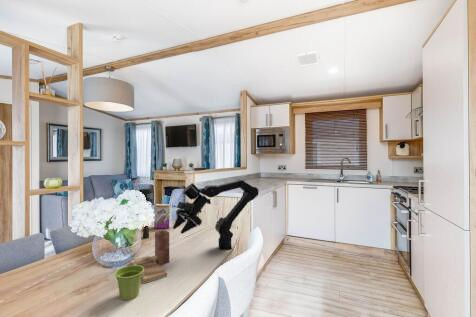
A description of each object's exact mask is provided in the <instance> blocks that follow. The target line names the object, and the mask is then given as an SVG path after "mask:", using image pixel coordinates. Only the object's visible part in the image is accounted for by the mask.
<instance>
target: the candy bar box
mask: <svg viewBox="0 0 476 317" xmlns="http://www.w3.org/2000/svg"><path fill="white" fill-rule="evenodd" d="M153 205H154V212H155V221H154V222H153V223H154V225H153V226H154V227H153V228H154V229H165V228H169V229H171V228H172V227H173V225H172V224H173V222H172V221H173V219H172V218H173V214H172V213H173V211H172V210H173V205H172V203H170V204H169V203H156V204H153ZM154 212H153V213H154ZM171 226H172V227H171ZM170 227H171V228H170Z"/></svg>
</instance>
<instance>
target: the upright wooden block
mask: <svg viewBox="0 0 476 317" xmlns="http://www.w3.org/2000/svg"><path fill="white" fill-rule="evenodd" d="M146 257H147V256H146ZM153 260H154V261H155V262H156V263H157V264H158V265H159V266H161V265H165V264H168V263H170V232H169V230H167V229H160V230H157V231H154V255H152V256H151V255H150V257H147V258H143V259H139V260H136V264H137V265H138V264H142V263H146V262H149V261H153Z"/></svg>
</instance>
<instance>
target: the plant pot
mask: <svg viewBox="0 0 476 317" xmlns="http://www.w3.org/2000/svg"><path fill="white" fill-rule="evenodd" d="M143 271H144V267H142V266H139V265H126V266H123V267H120V268H119V269H117V270H116V271H115V272H114V277H115V278H116V280H117V287H118V293H119V298H120V299H121V300H123V301H124V300H127V301H128V300H129V301H130V300H133V299H135V298H137V297H138V295H139V294H140V288H141V281H142V280H141V276H142V273H143Z"/></svg>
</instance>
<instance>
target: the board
mask: <svg viewBox="0 0 476 317" xmlns="http://www.w3.org/2000/svg"><path fill="white" fill-rule="evenodd" d="M147 257H151V255H147V256H143V257H139V258H134V259H131V260H129V266H131V265H137V264H136V260H139V259H143V258H147ZM138 265H139V266H142V267H144V271H143V273H142V276H141V281H142V283H143V284H146V283H150V282H153V281H156V280H160V279H163V278H165V277H167V276H168V275H167V274H168V272H167V271H166V270H165V269H164V268H162V266H161V265H158V264H157V263H156V262H155V260H153V261H149V262H146V263H142V264H138Z"/></svg>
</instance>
